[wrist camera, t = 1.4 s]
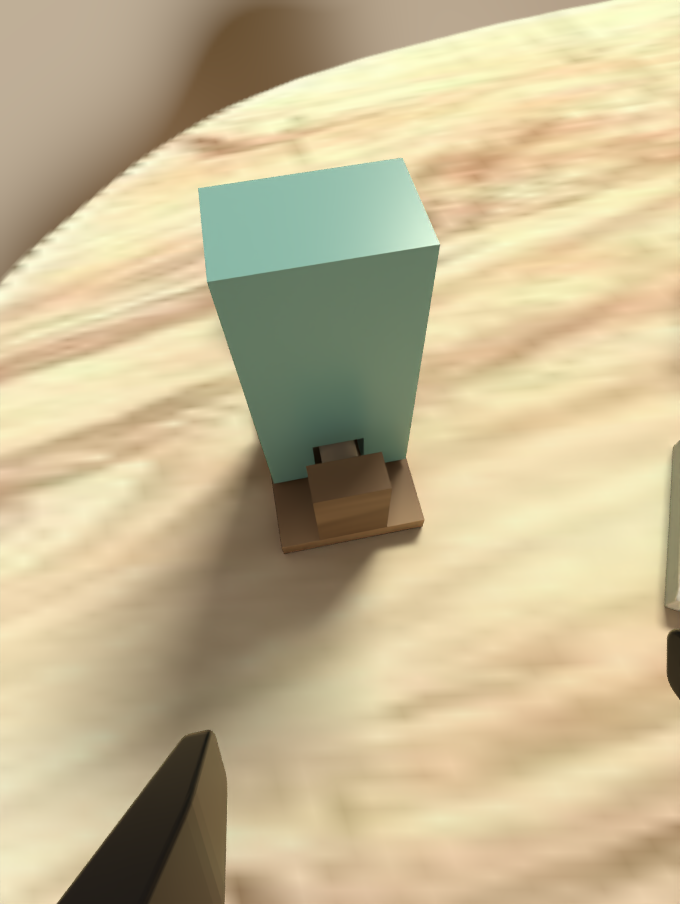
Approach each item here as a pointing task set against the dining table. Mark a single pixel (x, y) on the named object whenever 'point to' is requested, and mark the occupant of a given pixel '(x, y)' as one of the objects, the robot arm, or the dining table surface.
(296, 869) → the dining table surface
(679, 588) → the external hard drive
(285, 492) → the wooden stand
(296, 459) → the notched teal tower
